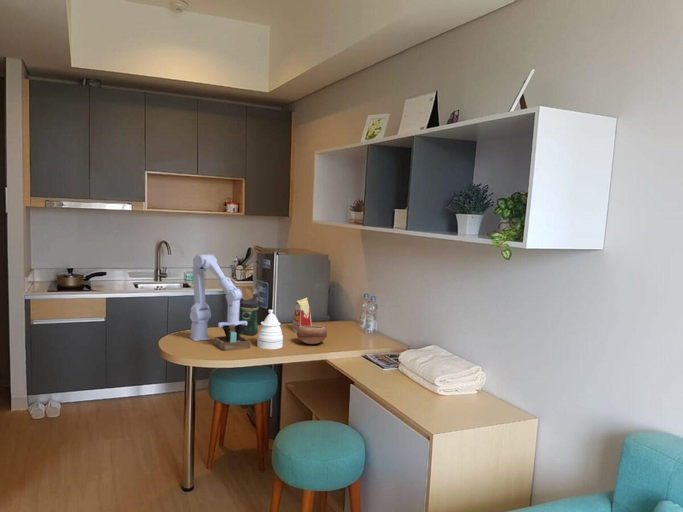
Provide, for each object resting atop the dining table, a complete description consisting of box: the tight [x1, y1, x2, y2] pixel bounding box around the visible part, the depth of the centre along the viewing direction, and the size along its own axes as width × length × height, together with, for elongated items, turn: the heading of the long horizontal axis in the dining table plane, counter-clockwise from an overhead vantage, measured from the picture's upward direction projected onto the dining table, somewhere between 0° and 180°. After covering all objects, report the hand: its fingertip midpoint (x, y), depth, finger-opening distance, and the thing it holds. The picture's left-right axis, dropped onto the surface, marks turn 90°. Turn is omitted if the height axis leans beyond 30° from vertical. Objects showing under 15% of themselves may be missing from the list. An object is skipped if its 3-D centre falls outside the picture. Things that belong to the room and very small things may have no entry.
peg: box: [228, 331, 237, 343], centre depth 262 cm, size 3×3×7 cm
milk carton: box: [292, 297, 313, 334], centre depth 301 cm, size 9×9×20 cm
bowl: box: [296, 325, 328, 345], centre depth 276 cm, size 16×16×10 cm
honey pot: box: [256, 309, 284, 350], centre depth 267 cm, size 13×13×18 cm
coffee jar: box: [239, 299, 260, 336], centre depth 289 cm, size 10×8×19 cm
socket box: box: [213, 334, 251, 352], centre depth 262 cm, size 14×14×4 cm
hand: (232, 340), depth 262 cm, fingers open, 4 cm apart
